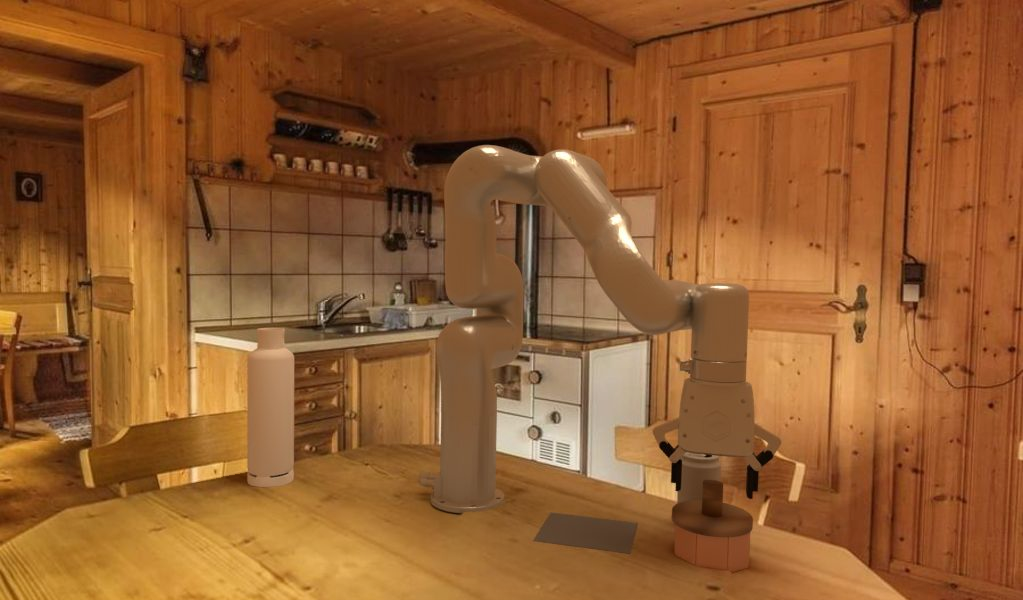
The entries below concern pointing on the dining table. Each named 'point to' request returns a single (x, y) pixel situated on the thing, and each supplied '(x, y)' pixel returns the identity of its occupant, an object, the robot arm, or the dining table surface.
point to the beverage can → (697, 475)
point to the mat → (587, 532)
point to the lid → (712, 514)
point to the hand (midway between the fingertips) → (713, 492)
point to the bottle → (270, 410)
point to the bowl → (713, 550)
